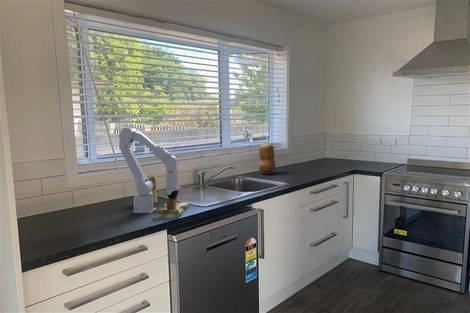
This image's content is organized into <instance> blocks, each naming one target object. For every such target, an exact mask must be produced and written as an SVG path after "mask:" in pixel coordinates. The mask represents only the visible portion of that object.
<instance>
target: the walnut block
mask: <svg viewBox="0 0 470 313" xmlns="http://www.w3.org/2000/svg"><path fill="white" fill-rule="evenodd" d="M176 203H177V199H176V198H174V199H169V198H167V199H166V202H165V204H166V206H167V210H171V209H175V208H176Z"/></svg>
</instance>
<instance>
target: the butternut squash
mask: <svg viewBox="0 0 470 313" xmlns="http://www.w3.org/2000/svg"><path fill="white" fill-rule="evenodd" d="M274 148H275V147H274V145H273V144H272V143H270V142H269V143H263V144H260V145H259V148H258V151H259V152H258V154H259V157H260V158H259V159H260V160H259V164H258V169H259V171H260V172H261V173H263V174H264V175H271V174H272V173H273V171H274V170H275V169H276V161H275V149H274Z"/></svg>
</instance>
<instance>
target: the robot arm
mask: <svg viewBox="0 0 470 313" xmlns="http://www.w3.org/2000/svg"><path fill="white" fill-rule="evenodd" d="M118 138H119V150H120V153H121V154H122V156H123V158H124V159H125V162H126V163H127V166H128V168H129V170H130V172H131V173H132V176H133V178H134V179H135V181H134V182H135V186H136V192H137V193H136V194H135V195H134V196H133V201H132V202H133V214H152V213H154V210H157V208H156V207H154V203H153V193H152V189H153V183H152V182H151V181H150V180H149V179H148V177H147V176H148V175H146V174H145V173H144V170H143V168H142V167H141V165H140V162H139V161H138V160H139V159H137V157H136V154H135V152H134V150H133V149H132V146H133V144H134V142H140V143H141V144H143V145H144V146H146V147H147V148H148V149H149V150H151V151H152V155H153V156H154V157H156V158H157V159H158V160H160V161H161V162H162V163H164V164H163V165H164V166H165V180H166V182H165V183H166V193H165V194H166V196H167V199H174V198H176V200H177V198H178V195H179V192H180V191H179V190H180V189H181V186H180V187H179V181H178V180H179V179H178V178H179V177H178V166H177V165H178V162H179V160H178V158H177V156H176V154H175V155H174V154H172V152H169V151H167V149H165V148H166V147H164V146H161V145H156V144H155V143H154V142H153V140H151V139H150V138H148V137H147V136H146V135H145V134H144V133H143V132H141V130H138V129H137V128H136V127H133V126H131V127H124V128H122V129H121V130H120V132H119V134H118Z"/></svg>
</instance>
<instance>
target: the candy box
mask: <svg viewBox="0 0 470 313" xmlns="http://www.w3.org/2000/svg"><path fill="white" fill-rule="evenodd" d="M146 176H147V177H148V179H149V180H150V181H151V182H152V183H153V189H152V193H153V204H155V203H156V204H157V202H158V194H157V193H158V192H157V191H158V190H157V176H156V175H146Z"/></svg>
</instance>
